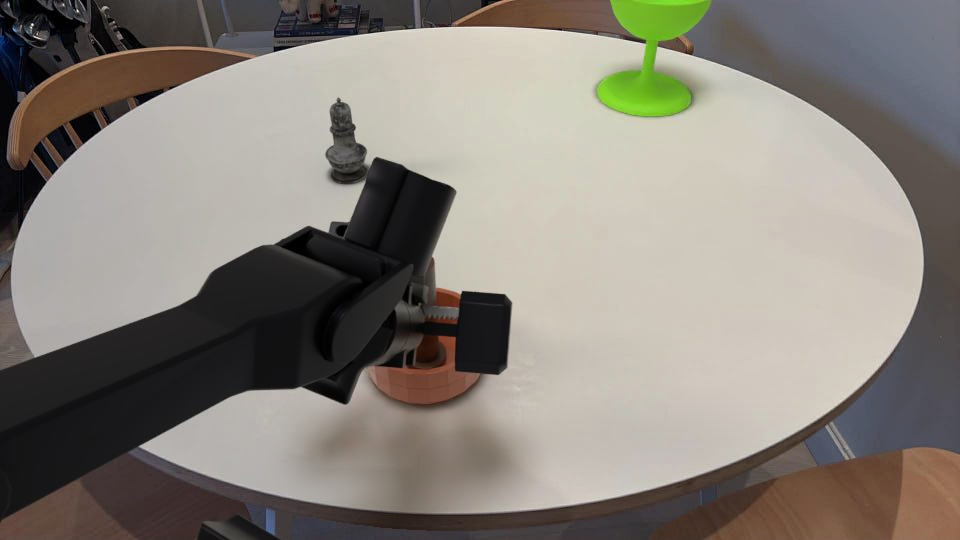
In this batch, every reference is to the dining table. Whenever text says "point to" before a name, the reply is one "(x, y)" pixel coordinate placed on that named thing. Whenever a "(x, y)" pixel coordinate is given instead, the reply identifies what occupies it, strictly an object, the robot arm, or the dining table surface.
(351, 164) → the grey chess piece
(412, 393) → the bowl
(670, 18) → the wineglass
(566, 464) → the dining table surface
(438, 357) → the brown cylinder
